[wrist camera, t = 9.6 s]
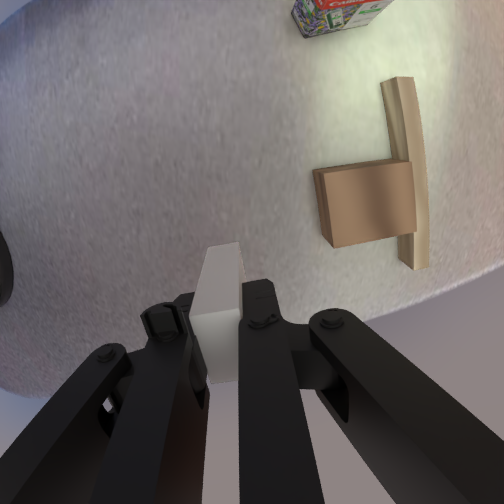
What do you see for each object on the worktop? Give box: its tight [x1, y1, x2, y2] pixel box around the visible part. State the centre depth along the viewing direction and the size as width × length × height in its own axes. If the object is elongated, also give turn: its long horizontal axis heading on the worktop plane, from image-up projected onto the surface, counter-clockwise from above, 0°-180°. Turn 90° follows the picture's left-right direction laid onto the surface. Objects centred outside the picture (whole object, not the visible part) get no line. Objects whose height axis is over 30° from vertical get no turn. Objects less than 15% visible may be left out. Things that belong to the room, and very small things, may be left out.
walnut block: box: [313, 159, 417, 249], centre depth 30 cm, size 9×7×5 cm
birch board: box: [380, 77, 429, 271], centre depth 30 cm, size 2×20×4 cm, turn 10°
